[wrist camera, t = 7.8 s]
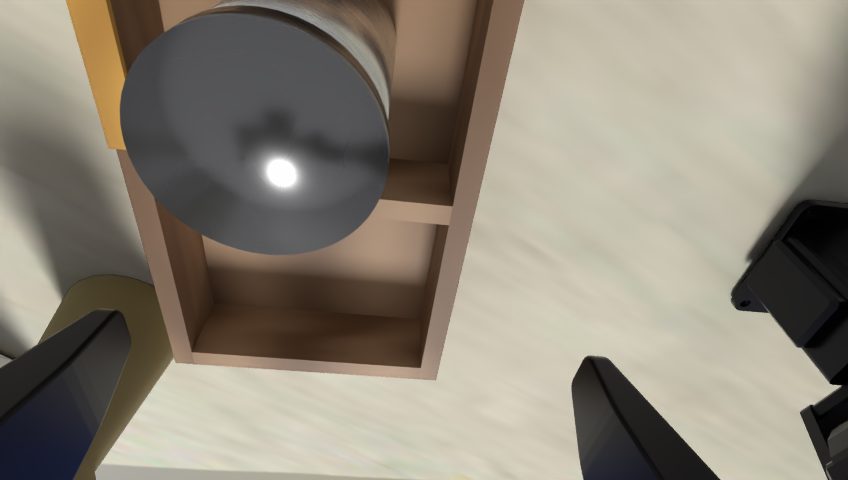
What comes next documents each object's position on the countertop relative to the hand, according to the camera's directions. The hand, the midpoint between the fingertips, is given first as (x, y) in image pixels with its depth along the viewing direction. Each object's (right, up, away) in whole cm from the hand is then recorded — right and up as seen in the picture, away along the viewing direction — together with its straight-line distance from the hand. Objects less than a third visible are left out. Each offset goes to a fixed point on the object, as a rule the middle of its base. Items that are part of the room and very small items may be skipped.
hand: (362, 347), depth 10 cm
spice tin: (-2, +9, +7) cm, 11 cm away
